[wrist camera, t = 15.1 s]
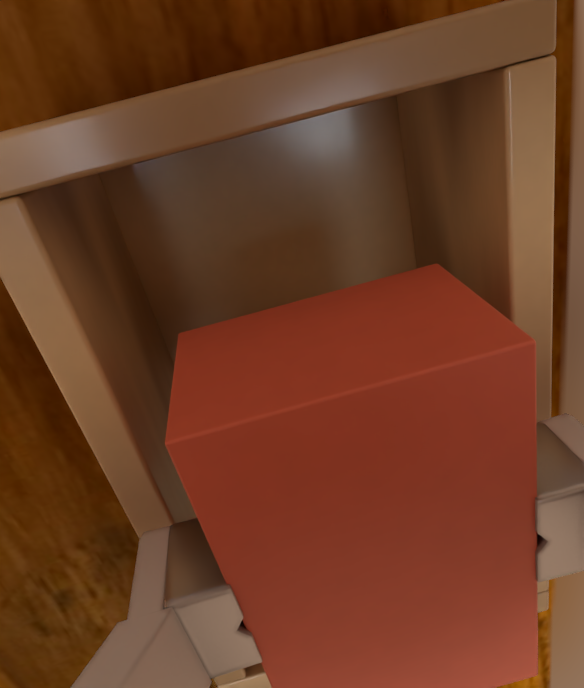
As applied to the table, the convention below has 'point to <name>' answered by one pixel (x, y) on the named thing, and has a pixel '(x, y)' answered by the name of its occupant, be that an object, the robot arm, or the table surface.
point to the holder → (278, 214)
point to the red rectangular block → (369, 482)
